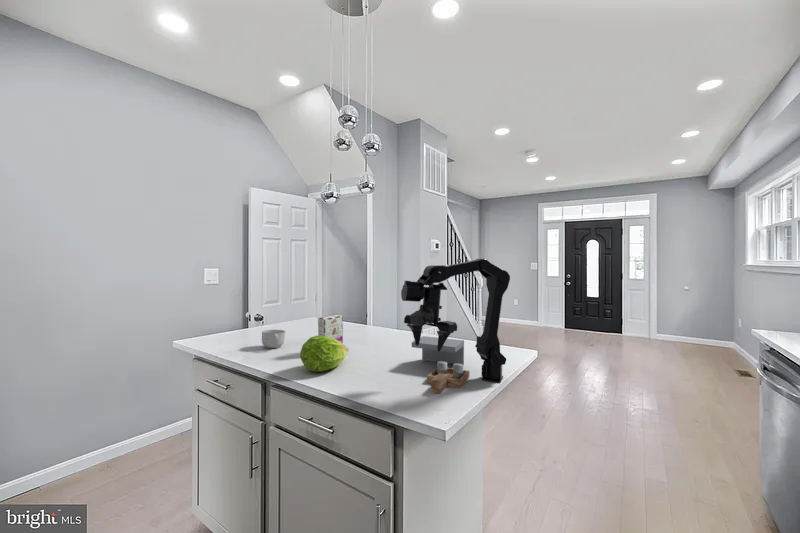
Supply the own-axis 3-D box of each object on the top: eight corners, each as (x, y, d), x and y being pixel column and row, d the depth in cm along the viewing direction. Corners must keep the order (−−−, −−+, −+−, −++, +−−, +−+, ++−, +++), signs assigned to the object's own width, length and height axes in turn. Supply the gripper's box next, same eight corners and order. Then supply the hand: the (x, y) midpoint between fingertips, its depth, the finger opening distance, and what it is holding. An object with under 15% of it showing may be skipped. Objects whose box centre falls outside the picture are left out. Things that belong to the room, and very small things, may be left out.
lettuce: (362, 365, 150) (359, 331, 153) (323, 373, 129) (320, 334, 132) (334, 367, 157) (332, 335, 160) (292, 375, 136) (291, 338, 139)
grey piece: (463, 364, 148) (464, 340, 148) (455, 373, 137) (455, 347, 136) (423, 359, 156) (423, 336, 155) (411, 367, 144) (411, 342, 144)
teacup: (262, 345, 179) (262, 329, 179) (285, 343, 182) (285, 328, 182) (260, 352, 166) (260, 334, 166) (285, 350, 169) (285, 333, 169)
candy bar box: (335, 348, 173) (335, 314, 173) (343, 350, 170) (343, 315, 170) (317, 353, 164) (317, 317, 164) (324, 355, 161) (324, 318, 161)
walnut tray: (469, 377, 132) (469, 362, 132) (453, 396, 114) (453, 378, 114) (438, 373, 137) (438, 358, 137) (418, 389, 119) (418, 373, 119)
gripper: (395, 299, 123) (391, 345, 123) (440, 306, 110) (436, 357, 110) (415, 298, 131) (412, 341, 131) (459, 305, 119) (456, 353, 119)
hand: (427, 348), depth 123 cm, fingers open, 9 cm apart
